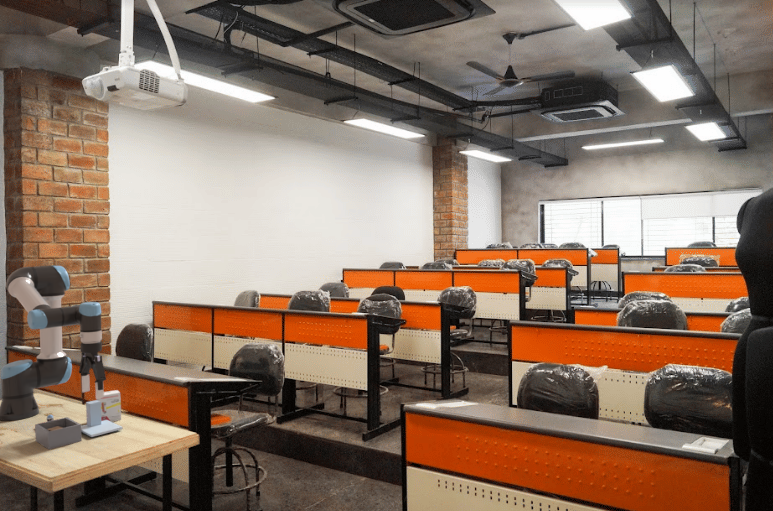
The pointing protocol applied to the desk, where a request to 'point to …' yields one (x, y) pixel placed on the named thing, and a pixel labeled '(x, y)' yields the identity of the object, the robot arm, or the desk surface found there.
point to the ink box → (111, 406)
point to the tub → (58, 433)
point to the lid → (97, 421)
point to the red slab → (50, 418)
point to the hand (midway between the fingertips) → (92, 394)
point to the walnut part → (54, 428)
